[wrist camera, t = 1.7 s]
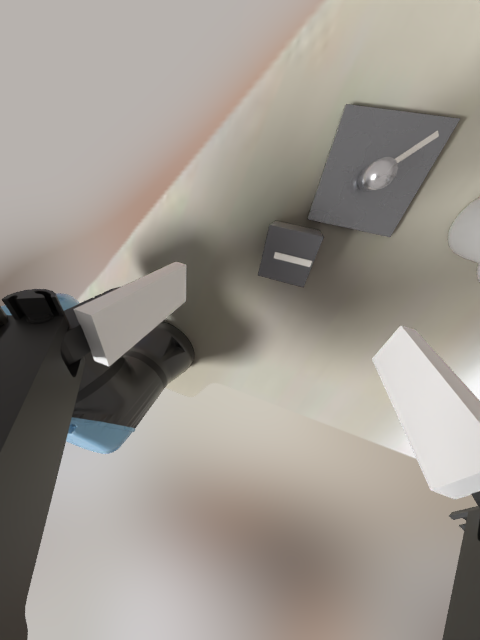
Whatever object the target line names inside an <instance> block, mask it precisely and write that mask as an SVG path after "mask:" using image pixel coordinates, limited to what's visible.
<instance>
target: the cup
mask: <svg viewBox="0 0 480 640" xmlns="http://www.w3.org/2000/svg"><path fill="white" fill-rule="evenodd" d="M448 243H449V247H450V248H451V250H452V251H453V252H454V253H456V254H457V255H459V256H461V257H463V258H465V259H468V260H471V261H474V262H477V263H478V266H477V273H476V274H477V278H478V281H479V282H480V197H478V198H477V199H475V200H474V201H473V202H471V203H470V204H469V205H468V206H467V207H465V208H464V209H463V210H462V211H461V212H460V213H459V215H458V216H457V217H456V219H455V220H454V221H453V223H452V226H451V228H450V230H449V234H448Z"/></svg>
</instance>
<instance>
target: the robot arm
mask: <svg viewBox="0 0 480 640" xmlns="http://www.w3.org/2000/svg"><path fill="white" fill-rule="evenodd" d="M2 301H3V302H4V304H5V305H4V306H0V640H27V635H28V633H27V632H28V629H27V624H26V619H25V605H26V599H27V595H28V591H29V587H30V583H31V579H32V575H33V571H34V567H35V563H36V559H37V555H38V551H39V547H40V543H41V539H42V534H43V531H44V526H45V523H46V519H47V515H48V511H49V507H50V503H51V499H52V494H53V491H54V486H55V483H56V479H57V474H58V471H59V466H60V463H61V458H62V455H63V450H64V446H65V442H66V441H67V442H69V443H71V444H74V445H76V446H79V447H82V448H84V449H87V450H90V451H93V452H97V453H102V454H109V453H112V452H114V451H116V450H117V449H118V448H119V447H120V446H121V445H122V444H123V443H124V442H125V440H126V439H127V438H128V437H129V436H130V434H131V433H132V432H134V431H135V428H136V426H137V425H138V424H139V422H140V421H141V420H142V418H143V417H144V416H145V414H146V413H147V411H148V410H149V408H150V407H151V406H152V404H153V403H154V402H155V400H156V399H157V398H158V396H159V395H160V394H161V392H162V391H163V389H164V388H165V387H166V386H167V384H168V383H170V382H171V381H172V380H174V379H175V378H177V377H178V376H179V375H181V374H182V373H183V372H185V371H186V370H187V369H188V368H189V366H190V365H191V363H192V362H193V359H194V351H193V347H192V345H191V343H190V342H189V340H188V339H187V337H186V336H185V335H184V334H183V333H182V332H181V331H179V330H178V329H177V328H175V327H174V326H172V325H170V324H168V323H165V322H162V321H163V320H165V319H166V318H167V317H168V316H169V315H170V314H172V313H173V312H174V311H175V310H176V309H177V308H179V307H180V306H181V305H182V304H183V303H184V302H186V264H183V263H179V262H174V263H171V264H169V265H167V266H165V267H163V268H161V269H159V270H156V271H154V272H152V273H150V274H148V275H146V276H144V277H141V278H139V279H137V280H135V281H133V282H131V283H129V284H126V285H124V286H122V287H118V288H114V289H111V290H109V291H106V292H104V293H102V294H100V295H98V296H95V298H91V299H89V300H86V301H84V302H82V303H79V302H78V301H77V300H76V299H75V298H74V297H72V296H70V295H67V294H61V293H60V294H56V293H54V292H53V291H50V290H46V289H32V290H24V291H20V292H16V293H13V294H10V295H7V296H6V297H4V298H3V299H2ZM372 361H373V363H374V365H375V367H376V369H377V372H378V374H379V376H380V378H381V381H382V383H383V385H384V387H385V389H386V392H387V394H388V396H389V398H390V401H391V403H392V405H393V407H394V410H395V412H396V414H397V416H398V418H399V421H400V423H401V425H402V427H403V430H404V432H405V434H406V436H407V439H408V441H409V443H410V445H411V447H412V450H413V452H414V454H415V456H416V459H417V461H418V463H419V465H420V467H421V470H422V472H423V474H424V476H425V479H426V481H427V483H428V485H429V487H430V490H432V491H434V492H437V493H439V494H442V495H445V496H447V497H450V498H452V499H458V498H461V497H465V496H468V495H472V496H473V498H474V500H475V501H476V503H477V505H478V506H476V507H472V508H468V509H464V510H460V511H456V512H452V513H451V514H450V515H449V516H450V517H451V518H452V519H453V520H455V519H459V518H463V519H465V520H466V524H462V525H459V526H460V527H461V528H462V529H463V530H464V535H463V540H462V545H461V550H460V555H459V560H458V566H457V570H456V575H455V580H454V585H453V590H452V595H451V600H450V605H449V610H448V615H447V620H446V625H445V630H444V635H443V640H480V401H479V400H478V399H477V397H476V396H475V395H474V394H473V393H472V392H471V391H470V390H469V389H468V387H467V386H466V385H465V384H464V383H463V382H462V381H461V380H460V378H459V377H458V376H457V375H456V374H455V373H454V372H453V371H452V370H451V368H450V367H449V366H448V365H447V364H446V363H445V362H444V361H443V360H442V358H441V357H440V356H439V355H438V354H437V353H436V352H435V351H434V350H433V348H432V347H431V346H430V345H429V344H428V343H427V342H426V341H425V340H424V338H423V337H422V336H421V335H420V334H419V333H418V332H417V331H416V329H412V328H409V327H405V326H402V325H401V326H400V327H399V328H398V329H397V330H396V331H395V333H394V334H393V335H392V336H391V337H390V338H389V340H388V341H387V342H386V343H385V344H384V345H383V347H382V348H381V349H380V350H379V351H378V352H377V354H376V355H375V356H374V357H373V358H372Z"/></svg>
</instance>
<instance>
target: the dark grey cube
mask: <svg viewBox="0 0 480 640" xmlns="http://www.w3.org/2000/svg"><path fill="white" fill-rule="evenodd" d="M322 240H323V235H322V234H321V232H320V230H316V229H311V228H307V227H303V226H298V225H294V224H289V223H285V222H280V221H274V222H273V223H271V224H270V225H269V230H268V234H267V238H266V242H265V247H264V251H263V255H262V260H261V264H260V268H259V272H258V276H262V277H266V278H270V279H273V280H277V281H281V282H285V283H288V284H292V285H296V286H300V287H304V285H305V282H306V280H307V277H308V275H309V272H310V270H311V267H312V265H313V262H314V260H315V257H316V255H317V252H318V250H319V247H320V245H321V242H322Z"/></svg>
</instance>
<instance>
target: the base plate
mask: <svg viewBox="0 0 480 640" xmlns="http://www.w3.org/2000/svg"><path fill="white" fill-rule="evenodd" d="M459 120H460V119H458V118H451V117H443V116H435V115H427V114H420V113H412V112H404V111H396V110H389V109H381V108H373V107H365V106H358V105H350V104H346V105H345V108H344V110H343V113H342V116H341V119H340V122H339V125H338V128H337V131H336V134H335V137H334V140H333V143H332V146H331V149H330V152H329V155H328V158H327V161H326V164H325V167H324V170H323V173H322V176H321V179H320V182H319V185H318V188H317V191H316V194H315V197H314V200H313V203H312V206H311V209H310V212H309V215H308V218H307V219H309V220H313V221H318V222H323V223H327V224H332V225H336V226H341V227H346V228H350V229H355V230H359V231H364V232H369V233H373V234H378V235H382V236H387V237H390V236H391V235H392V233H393V231H394V230H395V228H396V226H397V225H398V223H399V221H400V220H401V218H402V216H403V215H404V213H405V211H406V209H407V208H408V206H409V204H410V203H411V201H412V199H413V198H414V196H415V194H416V193H417V191H418V189H419V188H420V186H421V184H422V183H423V181H424V179H425V177H426V176H427V174H428V172H429V171H430V169H431V167H432V166H433V164H434V162H435V161H436V159H437V157H438V156H439V154H440V152H441V151H442V149H443V147H444V145H445V144H446V142H447V140H448V139H449V137H450V135H451V134H452V132H453V130H454V129H455V127H456V125H457V124H458V122H459Z"/></svg>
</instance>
